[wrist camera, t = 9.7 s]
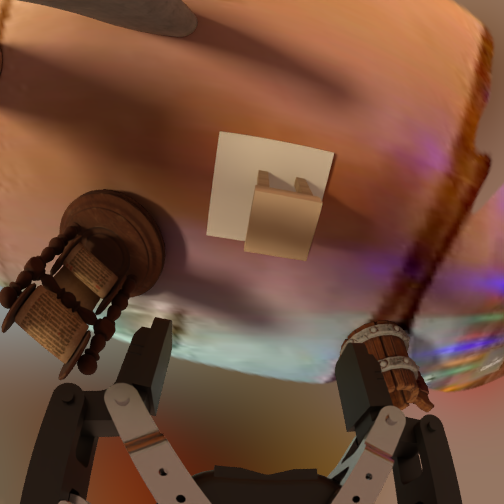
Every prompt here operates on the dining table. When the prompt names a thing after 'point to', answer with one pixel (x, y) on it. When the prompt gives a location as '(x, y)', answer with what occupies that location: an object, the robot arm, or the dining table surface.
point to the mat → (245, 177)
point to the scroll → (86, 277)
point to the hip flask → (134, 14)
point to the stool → (282, 219)
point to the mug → (393, 362)
